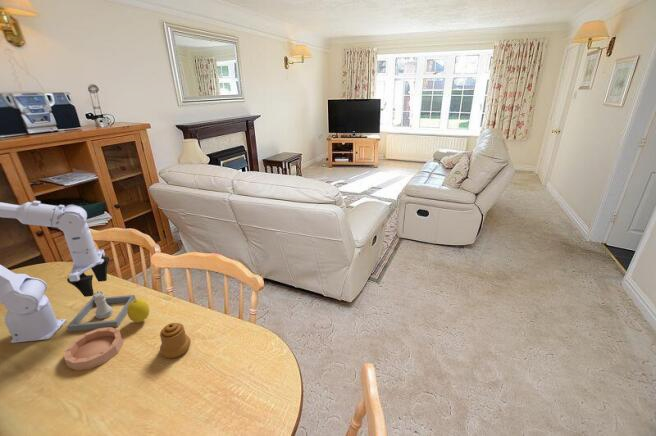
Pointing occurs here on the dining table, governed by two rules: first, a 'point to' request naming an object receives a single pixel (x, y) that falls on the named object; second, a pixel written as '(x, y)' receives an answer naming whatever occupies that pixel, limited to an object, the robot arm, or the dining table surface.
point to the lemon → (138, 310)
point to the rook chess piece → (101, 306)
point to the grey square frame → (78, 326)
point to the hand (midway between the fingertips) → (96, 288)
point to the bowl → (93, 348)
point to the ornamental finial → (174, 340)
